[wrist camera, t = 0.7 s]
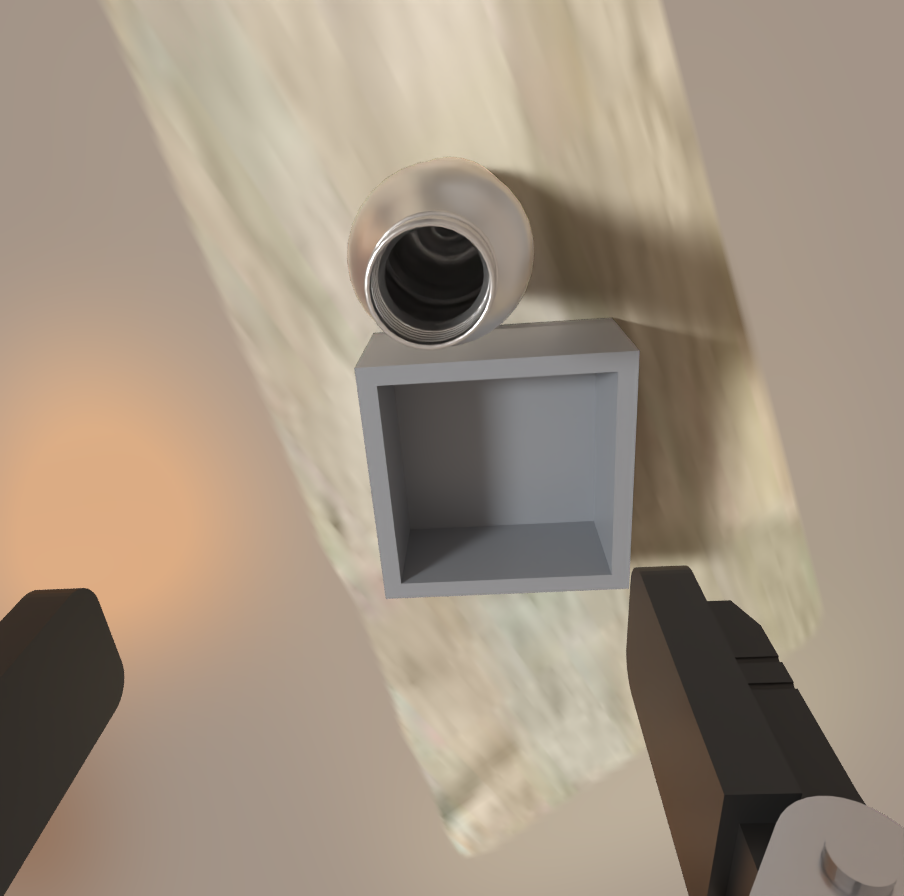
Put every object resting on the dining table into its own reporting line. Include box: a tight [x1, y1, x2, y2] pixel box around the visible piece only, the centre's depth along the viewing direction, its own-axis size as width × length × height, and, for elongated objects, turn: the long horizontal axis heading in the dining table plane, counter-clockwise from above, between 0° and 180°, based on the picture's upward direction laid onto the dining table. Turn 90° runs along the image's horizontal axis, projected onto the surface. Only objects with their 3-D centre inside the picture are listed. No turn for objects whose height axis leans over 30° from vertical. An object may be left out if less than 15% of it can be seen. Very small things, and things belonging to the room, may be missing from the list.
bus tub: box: [354, 318, 640, 599], centre depth 38 cm, size 14×14×7 cm
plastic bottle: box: [347, 157, 534, 350], centre depth 27 cm, size 6×7×20 cm
